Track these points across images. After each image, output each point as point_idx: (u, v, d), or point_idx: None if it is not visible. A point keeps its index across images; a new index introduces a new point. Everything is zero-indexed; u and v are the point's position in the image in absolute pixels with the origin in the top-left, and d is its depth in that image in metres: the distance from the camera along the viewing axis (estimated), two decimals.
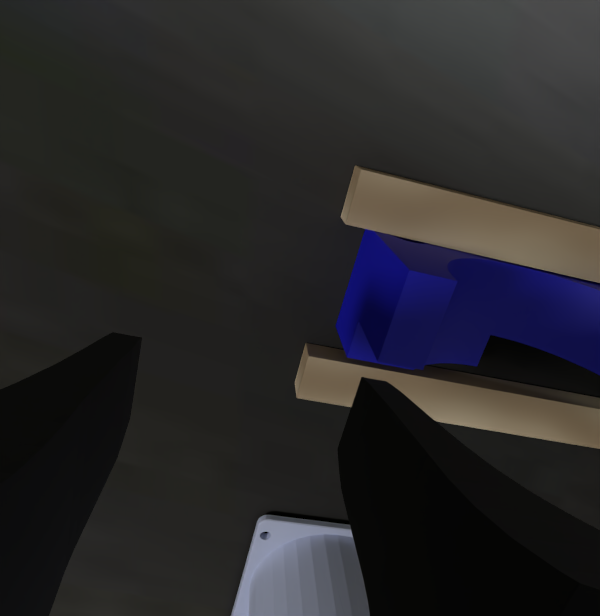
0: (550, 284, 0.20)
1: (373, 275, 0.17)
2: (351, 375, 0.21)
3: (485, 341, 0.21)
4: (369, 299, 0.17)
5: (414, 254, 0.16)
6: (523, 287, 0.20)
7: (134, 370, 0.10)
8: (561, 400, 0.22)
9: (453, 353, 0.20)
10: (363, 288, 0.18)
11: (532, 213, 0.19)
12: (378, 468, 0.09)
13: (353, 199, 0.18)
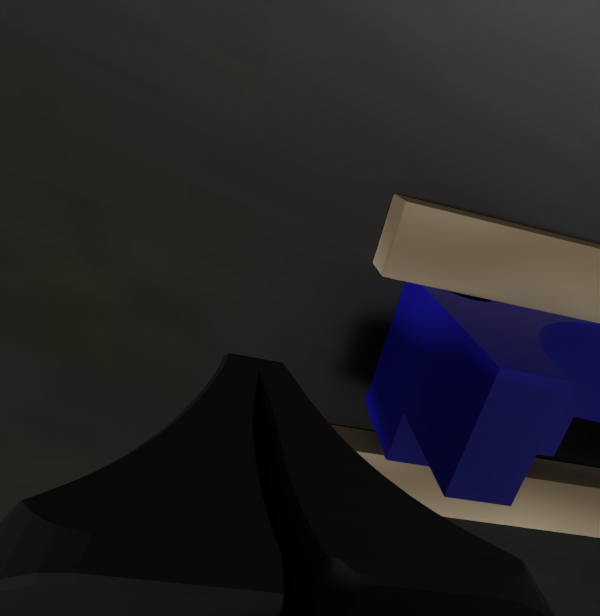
0: None
1: (425, 351, 0.12)
2: (384, 469, 0.16)
3: (565, 424, 0.16)
4: (421, 387, 0.12)
5: (490, 327, 0.11)
6: None
7: None
8: None
9: None
10: (407, 365, 0.13)
11: None
12: None
13: (394, 242, 0.13)
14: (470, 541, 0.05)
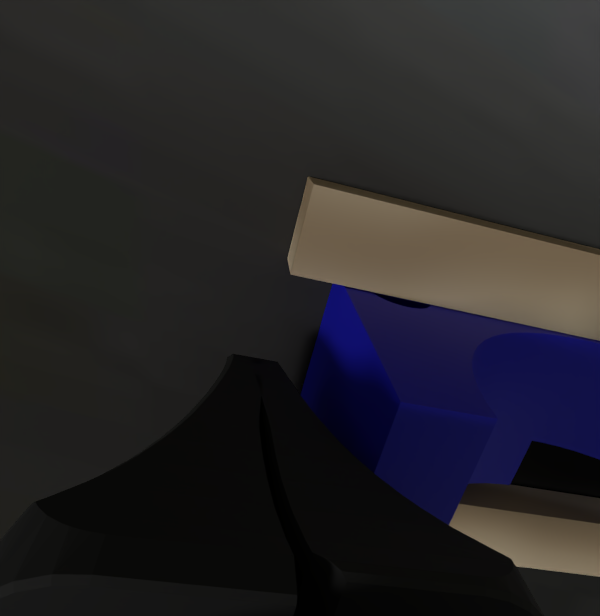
0: None
1: (341, 369, 0.10)
2: None
3: (523, 449, 0.13)
4: (334, 412, 0.10)
5: (411, 343, 0.09)
6: (586, 371, 0.12)
7: None
8: None
9: (474, 470, 0.13)
10: (327, 384, 0.11)
11: (597, 256, 0.11)
12: None
13: (302, 234, 0.11)
14: (459, 540, 0.05)
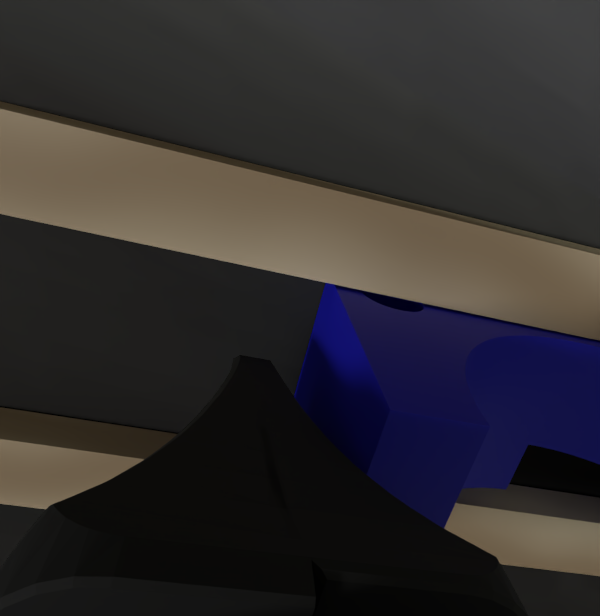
0: None
1: (333, 374, 0.10)
2: (35, 461, 0.12)
3: (520, 453, 0.13)
4: (326, 419, 0.10)
5: (403, 348, 0.09)
6: (582, 374, 0.12)
7: None
8: None
9: (470, 474, 0.13)
10: (319, 389, 0.11)
11: (304, 184, 0.10)
12: None
13: None
14: (445, 538, 0.05)
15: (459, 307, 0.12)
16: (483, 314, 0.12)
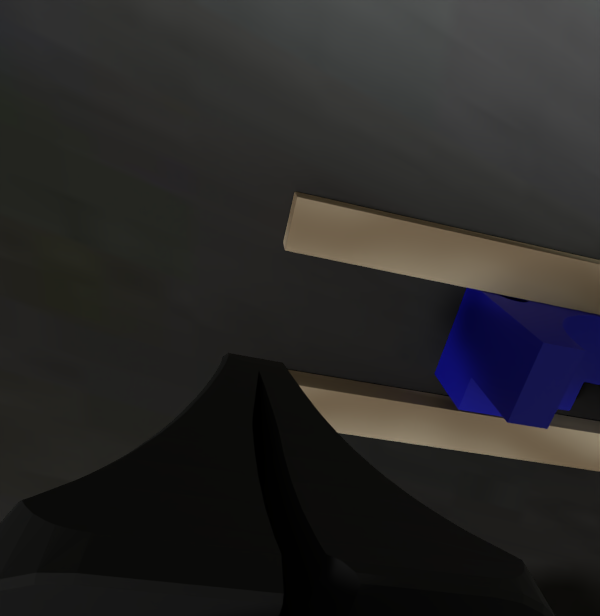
0: None
1: (487, 335, 0.19)
2: None
3: (578, 388, 0.22)
4: (485, 358, 0.19)
5: (532, 319, 0.18)
6: None
7: None
8: None
9: None
10: (473, 345, 0.20)
11: (470, 236, 0.19)
12: None
13: (291, 226, 0.18)
14: (470, 541, 0.05)
15: (550, 302, 0.20)
16: (562, 306, 0.21)
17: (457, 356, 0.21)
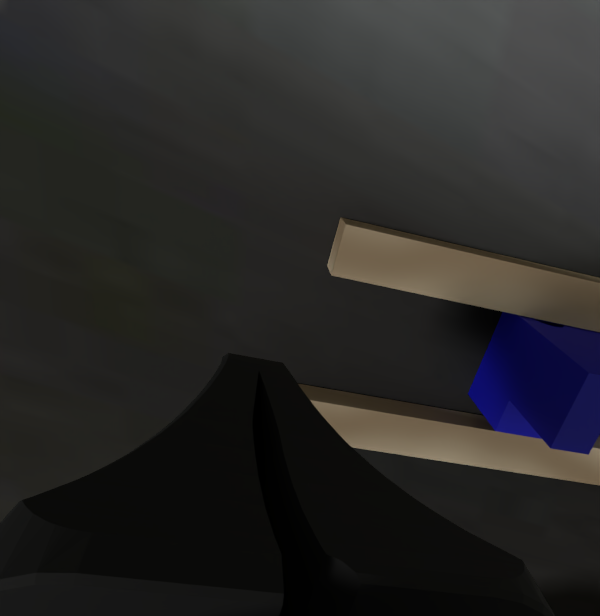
0: None
1: (526, 360, 0.19)
2: (338, 415, 0.21)
3: None
4: (524, 383, 0.19)
5: (572, 347, 0.18)
6: None
7: None
8: None
9: None
10: (511, 369, 0.20)
11: (511, 263, 0.19)
12: None
13: (338, 252, 0.19)
14: (470, 541, 0.05)
15: (585, 327, 0.21)
16: (597, 331, 0.21)
17: (493, 378, 0.21)
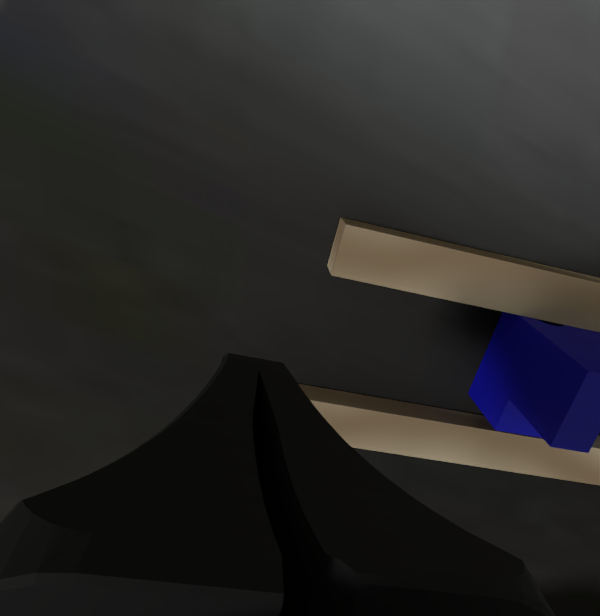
0: None
1: (526, 359, 0.19)
2: (338, 415, 0.21)
3: None
4: (524, 382, 0.19)
5: (572, 345, 0.18)
6: None
7: None
8: None
9: None
10: (510, 368, 0.20)
11: (511, 263, 0.19)
12: None
13: (338, 252, 0.19)
14: (470, 541, 0.05)
15: (585, 327, 0.21)
16: (597, 331, 0.21)
17: (493, 377, 0.21)
